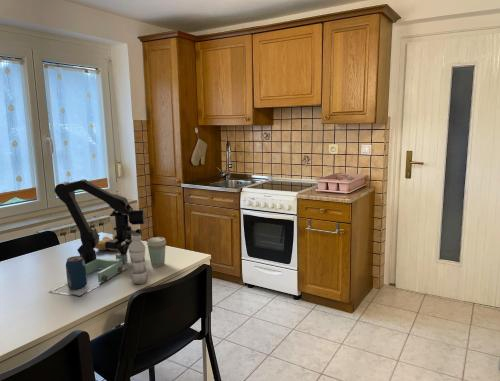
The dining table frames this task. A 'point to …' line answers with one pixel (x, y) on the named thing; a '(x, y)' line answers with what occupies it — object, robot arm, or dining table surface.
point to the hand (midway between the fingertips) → (124, 257)
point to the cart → (106, 267)
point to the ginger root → (102, 243)
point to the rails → (86, 291)
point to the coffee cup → (157, 251)
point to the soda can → (76, 273)
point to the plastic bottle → (137, 260)
